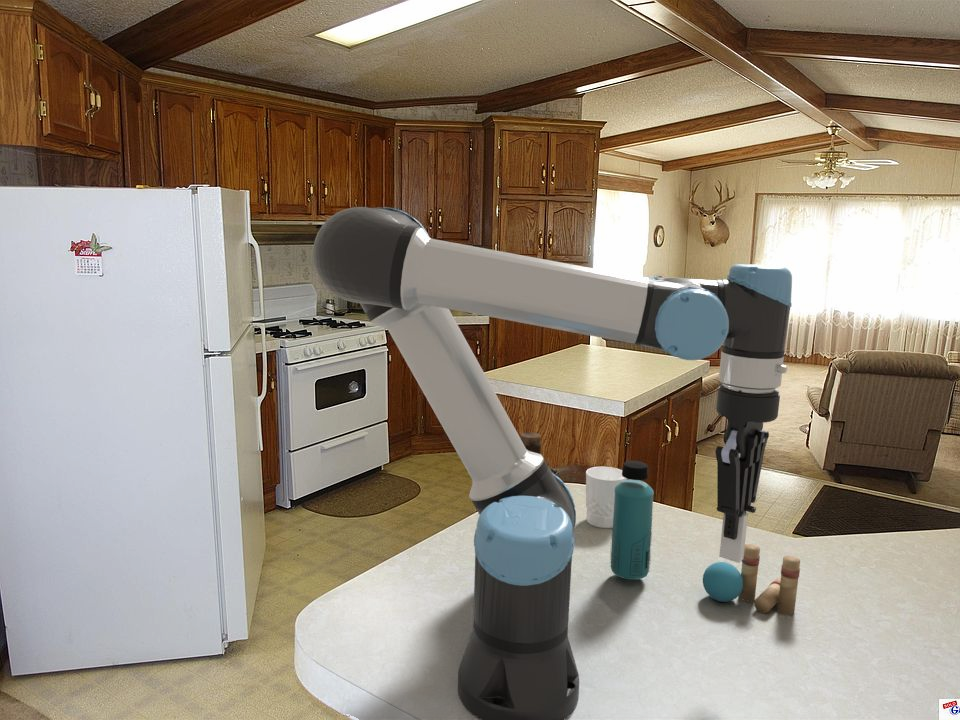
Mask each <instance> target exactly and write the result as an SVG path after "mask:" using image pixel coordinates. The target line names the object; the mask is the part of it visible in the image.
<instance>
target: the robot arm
mask: <svg viewBox="0 0 960 720" xmlns="http://www.w3.org/2000/svg"><path fill="white" fill-rule="evenodd" d="M312 258H313V260H312V261H313V265H314V270H315V272H316V275H317V276H318V279H320V281H321V283H322V284H323V286H324V287H326V289H327V290H328V291H330V292H331V293H332V294H333V295H334V296H336V297H338V298H340V299H341V300H344V301H347V302H351V303H356V304H360V306H361V308H362V309H363V312H364V314H365V315H366V316H367V319H368V320H369V323H370V324H372V325H375V326H378V327H382V328H385V329H386V330H388V332H389V335H390V336H391V338H392V340H393V341H394V343H395V345H396V347H397V349H398V350H399V352H400V354H401V356H402V357H403V359H404V361H405V363H406V364H407V366H408V368H409V370H410V372H411V373H412V375H413V377H414V379H415V380H416V382H417V384H418V386H419V388H420V389H421V391H422V393H423V395H424V396H425V398H426V399H427V400H426V401H427V402H428V404H429V405H430V407H431V408H432V410H433V412H434V414H435V417H436V419H438V422H439V423H440V425H441V426H442V428H443V430H444V432H445V435H447V437H448V439H449V441H450V442H451V444H452V447H453V448H454V450H455V451H456V453H457V456H458V457H459V459H460V460H461V462H462V463H463V466H464V467H465V469H466V471H467V473H468V475H469V476H470V478H471V481H472V484H471V488H470V491H469V495H468V496H469V499H470V500H471V502H472V504H473V506H474V508H475V509H476V512H478V515H479V517H478V519H477V523H476V529H475V531H474V532H475V533H474V535H473V536H474V537H473V547H474V553H475V555H474V587H473V588H474V590H473V592H474V593H473V623H472V624H473V625H472V626H473V627H472V628H473V630H472V632H471V635H470V637H469V640H468V642H467V645H466V647H465V651H464V653H463V656H462V659H461V661H460V662H459V663H460V664H459V667H458V670H457V671H458V672H457V693H458V694H457V695H458V697H459V700H460V701H461V704H462V706H464V707H465V708H466V710H467V711H468V712H470V713H471V714H472V715H473V716H474V717H475V718H478V719H479V720H565V719H567V717H568V716H570V715H571V714H572V713H573V712H574V710H575V709H576V707H577V704H578V703H579V697H580V696H579V695H580V674H579V670H578V666H577V664H576V660H575V657H574V655H573V650H572V647H571V643H570V640H569V636H568V634H569V632H568V631H569V619H570V618H569V617H570V614H569V613H570V600H571V599H570V598H571V583H572V582H571V581H572V578H571V577H572V565H573V564H572V561H573V553H574V550H575V535H574V534H575V527H576V523H577V522H576V520H577V511H576V509H575V508H576V506H575V502H574V498H573V496H572V494H571V491H570V489H569V488H568V486H567V485H566V483H565V482H564V481H563V480H562V479H561V478H560V477H559V476H557V475H556V474H555V473H554V472H553V471H552V470H551V468H550V467H549V465H548V464H547V461H546V459H545V458H544V456H543V455H542V454H538V453H535V452H531V451H528V450H527V449H526V448H525V446H524V444H523V442H522V440H521V439H520V437H521V436H520V435H519V433H518V432H517V430H516V427H515V426H514V424H513V422H512V421H511V419H510V417H509V415H508V413H507V412H506V410H505V408H504V406H503V405H502V402H501V401H500V399H499V397H498V395H497V394H496V392H495V390H494V388H493V386H492V385H491V383H490V380H489V379H488V377H487V376H486V374H485V371H484V370H483V368H482V366H481V365H480V363H479V361H478V359H477V358H476V356H475V354H474V353H473V349H472V348H471V347H470V345H469V342H468V341H467V340H466V337H465V336H464V334H463V332H462V329H461V328H460V326H459V325H458V324H457V322H456V320H455V318H454V316H453V314H452V312H451V310H454V311H457V312H463V313H467V314H469V313H470V314H474V315H478V316H479V315H480V316H485V317H489V318H496V319H501V320H505V321H511V322H516V323H521V324H528V325H533V326H538V327H543V328H547V329H548V328H549V329H553V330H559V331H564V332H568V333H569V332H570V333H575V334H580V335H586V336H590V337H591V336H592V337H597V338H602V339H606V340H611V341H618V342H622V343H630V344H633V345H637V346H641V347H646V348H649V349H656V350H660V351H665V352H666V353H667V354H670V355H671V356H672V357H675V358H678V359H681V360H685V361H698V360H703V359H705V358H708V357H710V356H712V355H713V354H715V353H716V352H717V351H718V350H719V349H720V348H721V354H720V363H719V371H718V380H719V382H721V384H720V385H719V386H718V388H717V394H716V395H717V397H716V404H715V405H716V407H715V410H716V412H717V414H719V416H722V417H724V418H726V419H727V421H728V423H727V427H726V428H725V430H724V432H723V443H724V446H720V445H717V447H716V448H715V458H716V462H717V463H716V464H717V465H716V466H717V468H716V469H717V472H716V473H717V478H716V479H717V483H716V484H717V485H716V486H717V487H716V488H717V492H716V493H717V496H716V497H717V498H716V499H717V502H716V503H717V504H716V505H717V507H716V511H717V512H719V513H723V519H722V527H721V534H720V535H721V537H720V546H719V558H722V559H726V560H728V561H732V562H735V563H738V564H740V563H742V560H743V557H744V548H745V545H746V536H747V528H748V527H747V526H748V518H749V513H752V514H755V513H756V510H757V507H756V506H753V505H752V504H754V503H755V502H756V500H757V493H758V488H759V483H760V477H761V472H762V466H763V462H764V461H763V460H764V457H765V456H764V455H765V452H766V451H765V449H766V447H767V442H768V439H769V438H770V432H769V431H768V430H763V429H764V423H770V422H773V421H775V420H776V419H777V418H778V416H779V408H780V399H781V393H780V392H779V390H778V388H780V387H781V386H782V377H783V374H786V373H787V371H788V367H787V365H784V362H785V361H784V360H785V359H784V358H785V352H786V350H785V349H786V341H787V335H788V327H789V319H790V313H791V307H792V305H793V303H792V289H793V288H792V285H793V276H792V275H793V274H792V273H791V271H790V269H788V268H786V267H784V266H782V265H781V266H779V265H770V264H769V265H767V264H753V263H752V264H751V263H750V264H744V263H740V264H739V263H738V264H737V263H735V264H733V265H732V266H731V267H730V268H729V271H728V272H729V273H728V275H727V276H726V278H721V279H703V278H689V277H686V278H685V277H673V276H672V277H671V276H670V277H669V276H663V275H655V276H637V275H631V274H626V273H620V272H615V271H609V270H606V269H605V270H604V269H598V268H593V267H587V266H582V265H577V264H572V263H567V262H562V261H557V260H555V261H554V260H549V259H544V258H538V257H534V256H528V255H521V254H517V253H511V252H506V251H501V250H495V249H489V248H484V247H478V246H473V245H468V244H463V243H457V242H451V241H446V240H441V239H436V238H431V237H430V235H429V233H428V232H427V229H426V228H425V227H424V226H423V225H422V223H421V222H419V220H417V219H416V218H415V217H413V216H411V215H410V214H408V213H407V212H404V211H403V210H402V209H401V210H400V209H397V208H394V207H389V206H388V207H386V206H383V207H381V206H380V207H378V206H377V207H366V206H354V207H350V208H349V207H348V208H345V209H342V210H340V211H338V212H336V213H335V214H333V215H332V216H330V217H329V218H327V220H326V221H325V222H324V223H323V224H322V225H321V227H320V229H319V230H318V232H317V234H316V236H315V239H314V244H313V248H312ZM551 471H552V472H553V473H554V474H553V473H552V472H551Z"/></svg>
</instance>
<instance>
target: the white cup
mask: <svg viewBox="0 0 960 720" xmlns="http://www.w3.org/2000/svg"><path fill="white" fill-rule="evenodd" d="M622 470H623V469H620V468H617V467H612V466H593V467H590V468H587V470H585V508H586V522H587V523H588V524H589V525H591V526H594V527H595V528H601V529H602V528H603V529H612V528H613V520H612V519H613V515H614V498H615V487H616V486H617V485H618V484H619V483H621V482H622V481H624V480H628V479H627V478H625V477H623V476H622Z"/></svg>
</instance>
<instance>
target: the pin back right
mask: <svg viewBox="0 0 960 720" xmlns="http://www.w3.org/2000/svg"><path fill="white" fill-rule="evenodd" d="M780 568H781V569H780V578H781V581H780V590H779V599H778V602H777V611H778V613H780V614H783V615H786V616H791V615H794V614H795V608H796V602H797V601H796V600H797V594H798V593H797V592H798V585H799V584H798V583H799V578H800V571H801V560H800V559H799V557H796V556H793V555H784V556H783V557H782V564H781V567H780Z"/></svg>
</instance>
